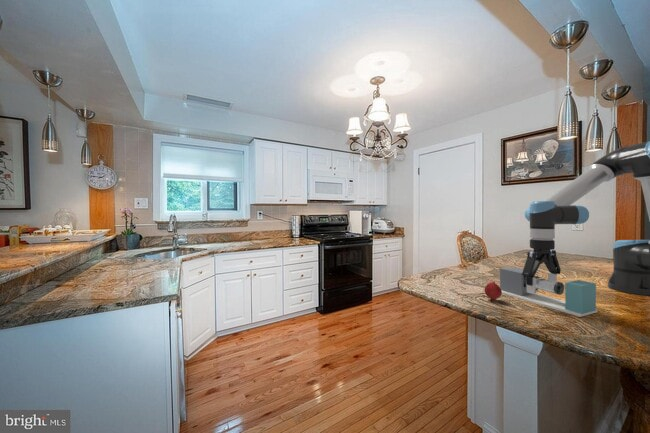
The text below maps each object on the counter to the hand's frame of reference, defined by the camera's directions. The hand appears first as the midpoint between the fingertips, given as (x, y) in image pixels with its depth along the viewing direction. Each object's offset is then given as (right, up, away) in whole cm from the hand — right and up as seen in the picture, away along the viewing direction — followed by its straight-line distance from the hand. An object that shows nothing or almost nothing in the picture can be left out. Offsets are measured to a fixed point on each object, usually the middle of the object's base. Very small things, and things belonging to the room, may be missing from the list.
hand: (541, 291), depth 98 cm
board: (0, -4, 0) cm, 4 cm away
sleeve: (-3, -4, +9) cm, 10 cm away
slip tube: (-1, 0, +3) cm, 3 cm away
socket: (+4, -4, -11) cm, 12 cm away
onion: (-19, -4, +2) cm, 19 cm away
